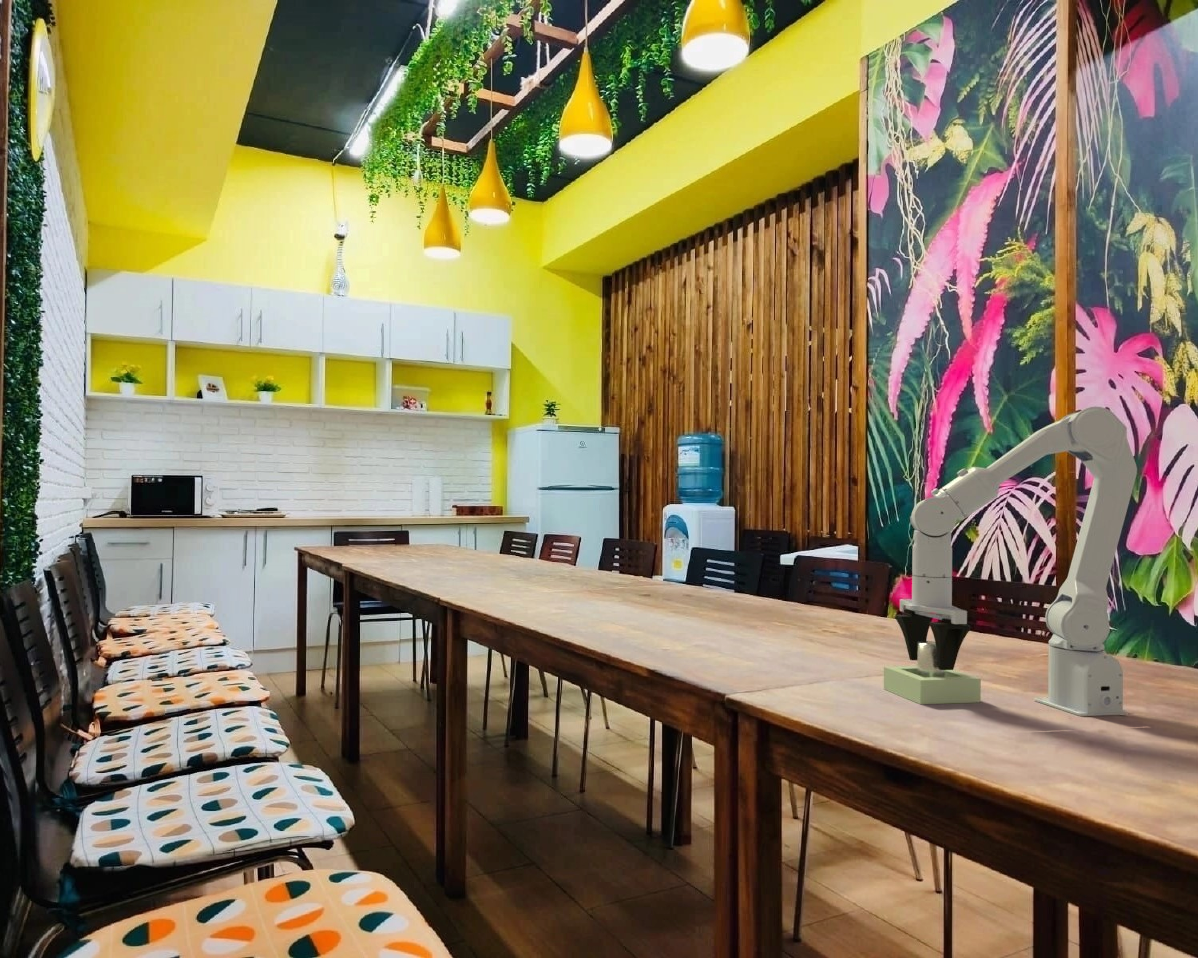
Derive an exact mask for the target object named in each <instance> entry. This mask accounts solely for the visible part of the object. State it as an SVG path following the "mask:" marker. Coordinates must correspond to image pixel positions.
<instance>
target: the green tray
mask: <svg viewBox="0 0 1198 958" xmlns="http://www.w3.org/2000/svg"><path fill="white" fill-rule="evenodd" d="M981 679H982V678H980V677H977V676H974V675H971V674H967V673H964V672H962V671H960V670H959V671H958V670H955V669H953V670H945V677H925V678H924V677H921V676H919V675H917V665H907V666H905V665H904V666H902V665H901V666H883V690H885V691H888V692H890V693H892V694H895V695H897V696H900V697H902V698H904V699H906V700H909V701H911V702H914V703H916V704H919V705H937V704H938V705H939V704H941V705H943V704H966V703H981V700H982V699H981V698H982V697H981V691H982V690H981V688H982V687H981V685H982V684H981V683H982V682H981Z"/></svg>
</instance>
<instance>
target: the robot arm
mask: <svg viewBox="0 0 1198 958" xmlns="http://www.w3.org/2000/svg"><path fill="white" fill-rule="evenodd" d="M1127 433H1128V427H1127V426H1126V425H1125V424H1124V423H1123V421H1122V420H1120V418H1118V416H1117V415H1116V414H1115V413H1114V412H1112V411H1111V409H1108V408H1106V407H1102V406H1089V407H1085V408H1083V409H1082V410H1080V411H1078V412H1073V413H1069V414H1066V415H1065V416H1064V417H1062V418H1061V419H1060V420H1057V421H1054V422H1053V423H1051V424H1048V425H1046V426H1044V427H1042V428H1041V429H1038V430H1037V431H1035V432H1033V434H1031V435H1029V436H1028V437H1027V438H1026V439H1024V440H1023V441H1021V442H1020V443H1019V444H1017V445H1016V446H1014V447H1013V448H1011V450H1009V451H1007V452H1006V453H1005V454H1003V455H1002V456H1001V457H1000V458H998V459H997V460H996V461H995V460H994V462H993V463H991V464H990V465H989V466H987V467H986V468H985V467H979V466H971V467H970V468H968V469H966V468H965V467H964V468H962V469H960V470H958V471H957V472H956V475H957V477H956V478H953V480H951V481H949V483H947V484H946V485H944V486H942V487H941V488H940V489H938V488H936V487H935V488H934V489H933V490H931V492H930V494H931V495H932V497H928V498H925V499H923V500H921V501H919V502H917V503H916V504H915V505H914V507H913V509H912V512H911V515H910V516H909V519H910V523H911V526H912V527H913V529H914V530H913V537H912V538H913V539H912V540H913V545H912V553H911V554H912V558H911V559H912V562H911V564H912V567H911V568H912V569H911V571H912V572H911V573H912V575H911V579H912V580H911V583H912V584H911V598H901V599H899V612H902V614H895V620H896V622H897V623H898V625H899V628H900V630H901V632H902V635H903V638H904V641H905V645H906V649H907V654H908V657H909V660H910V661H917V648H918V642H919V641H927V638H928V634H929V629H931V632H932V635H933V638H934V642H935V643H936V652H937V664H938V668H939V669H940V670H955V669H954V668H955V665H956V661H957V657H958V655H959V651H960V648H961V646H962V644H963V642H964V640H965V639H966V636H967V635H968V633H969V632H970V630H971V625H970V624H968V611H967V610H965V609H961V608H958V607H957V606H954V605H953V604H952V603H953V602H952V601H953V595H952V594H953V577H952V576H953V547H952V531H953V530H954V529H955V526H956V525H957V520H959V521H964V519H966V518H968V517H969V516H971V515H972V514H974V513H975V512H976V511H978V510H980V509H981V508H982V507H985V505H987V504H988V503H990V502H991V501H993V500H994V499H996V498H997V497H998V495H999V489H1000V485H1001V484H1003V483H1004V482H1006V481H1007V480H1009V479H1010V478H1012V477H1014V476H1015V475H1017V474H1018V473H1020V472H1022V471H1023V470H1024V469H1025V470H1026V468H1028V467H1029V466H1031V465H1032V464H1034V463H1036V462H1037V461H1039V460H1041V458H1043V457H1045V456H1047V455H1053V454H1060V453H1064V452H1067V453H1068V454H1071V456H1073V457H1075V458H1077V459H1079V460H1080V461H1081V463H1082V464H1083V465H1084V466H1085V468H1086V469H1087V470H1088V471H1089V472H1090V474H1091V475H1092V476H1093V481H1092V485H1091V488H1090V492H1089V496H1088V501H1087V504H1086V508H1085V511H1084V515H1083V519H1082V522H1081V526H1080V530H1079V533H1078V538H1077V540H1076V541H1077V542H1076V545H1075V549H1074V552H1073V555H1072V559H1071V563H1070V566H1069V570H1068V574H1067V578H1066V579H1065V581H1064V582H1063V583H1062V585H1061V586H1060V587H1059V590H1058V593H1057V596H1056V598H1055V600H1054V601H1053V602H1052V603H1051V604H1049V606H1048V608H1047V609H1046V612H1045V615H1044V617H1045V618H1044V619H1045V623H1046V624H1045V625H1046V627H1047V629H1048V630H1049V632H1051V634H1052V635H1051V638H1050V639H1049V640H1048V675H1047V676H1048V677H1047V678H1048V682H1047V683H1048V684H1047V685H1048V686H1047V687H1048V688H1047V689H1048V690H1047V692H1048V695H1047V697H1046V696H1045V697H1034V702H1036V703H1037V702H1038V703H1039V704H1043V705H1046V706H1049V707H1051V708H1054V709H1058V710H1061V711H1064V712H1067V713H1070V714H1073V715H1076V716H1079V717H1097V716H1098V717H1100V716H1101V717H1102V716H1124V715H1128V711H1127V710H1124V709H1123V708H1124V706H1123V705H1124V704H1123V703H1124V701H1123V699H1124V698H1123V695H1124V694H1123V693H1124V690H1123V689H1124V688H1123V687H1124V683H1123V682H1124V674H1123V669H1122V668H1123V667H1122V665H1121V663H1120V662H1119V660H1118V659H1117V658H1115V657H1114V656H1112V655H1110V654H1107V651H1106V650H1105V643H1104V642H1105V641H1106V640H1107V638H1108V636H1109V633H1110V629H1111V627H1110V622H1109V618H1108V608H1109V605H1110V601H1109V600H1110V599H1109V596H1108V591H1107V586H1108V581H1109V577H1110V575H1111V574H1110V573H1111V570H1112V567H1113V563H1114V559H1115V556H1116V552H1117V549H1118V545H1119V541H1120V537H1121V534H1122V529H1123V527H1124V523H1125V519H1126V515H1127V511H1128V508H1129V504H1130V500H1131V496H1132V492H1133V489H1134V486H1135V482H1136V478H1137V474H1138V467H1137V464H1136V461H1135V458H1134V456H1133V451H1132V449H1131V446H1130V443H1129V441H1128V435H1127ZM933 619H935V620H936V619H937V620H940V621H933Z"/></svg>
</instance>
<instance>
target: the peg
mask: <svg viewBox="0 0 1198 958" xmlns="http://www.w3.org/2000/svg"><path fill="white" fill-rule="evenodd" d="M916 662H917V665H916V666H917V675H919V676H921V677H924V678H925V677H945V670H940V669H939V668H938V664H937V652H936V643H935V641H929V640H926V641H919V642H918V648H917V660H916Z"/></svg>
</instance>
